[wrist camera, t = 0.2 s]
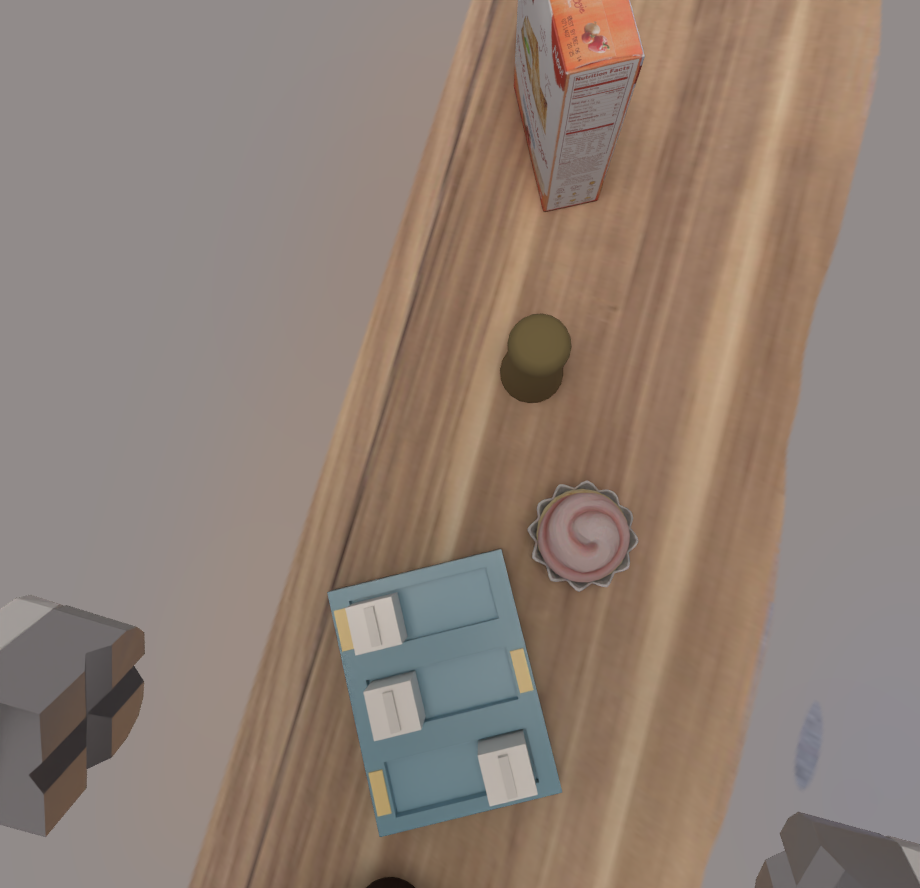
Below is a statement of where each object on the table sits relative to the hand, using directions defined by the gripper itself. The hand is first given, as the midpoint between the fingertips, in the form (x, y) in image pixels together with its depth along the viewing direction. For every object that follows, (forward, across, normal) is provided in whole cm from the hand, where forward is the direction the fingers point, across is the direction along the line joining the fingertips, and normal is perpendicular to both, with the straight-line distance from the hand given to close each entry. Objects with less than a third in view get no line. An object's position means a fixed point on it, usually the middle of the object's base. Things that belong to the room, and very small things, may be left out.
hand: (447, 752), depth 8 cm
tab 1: (+39, -4, -37) cm, 54 cm away
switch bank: (+42, -1, -36) cm, 55 cm away
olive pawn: (+56, 0, -10) cm, 57 cm away
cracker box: (+67, -3, +11) cm, 68 cm away
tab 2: (+38, +6, -39) cm, 55 cm away
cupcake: (+50, +8, -22) cm, 55 cm away
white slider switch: (+42, -8, -31) cm, 53 cm away
